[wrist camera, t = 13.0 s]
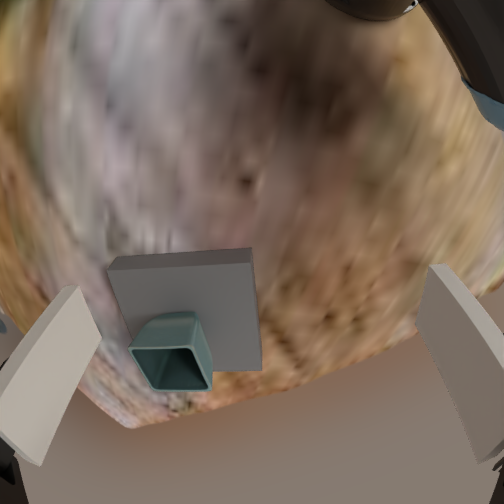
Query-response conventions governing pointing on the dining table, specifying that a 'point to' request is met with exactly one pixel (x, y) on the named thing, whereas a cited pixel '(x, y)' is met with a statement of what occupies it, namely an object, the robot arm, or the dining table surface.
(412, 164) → the dining table surface
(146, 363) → the flower pot
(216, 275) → the plinth
